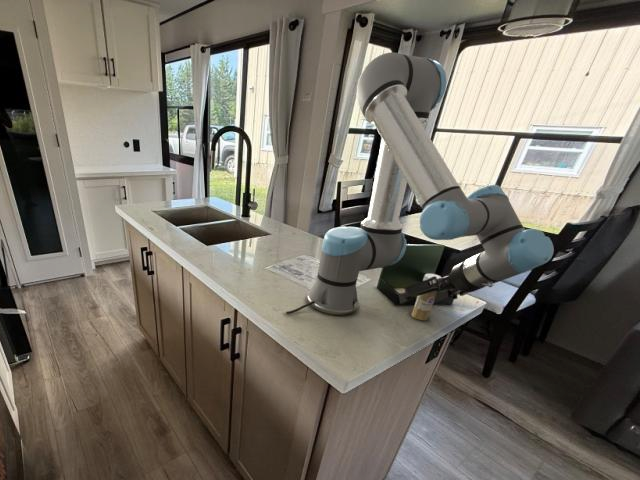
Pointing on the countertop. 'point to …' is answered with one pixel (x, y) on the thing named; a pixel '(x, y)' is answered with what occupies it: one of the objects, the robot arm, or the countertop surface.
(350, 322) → the countertop surface
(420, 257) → the box
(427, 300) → the sprinkles bottle
